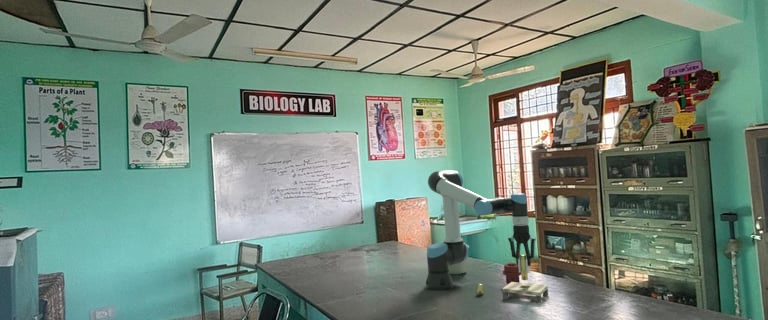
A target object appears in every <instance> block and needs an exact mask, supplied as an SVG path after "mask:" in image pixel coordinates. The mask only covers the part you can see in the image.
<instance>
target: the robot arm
mask: <svg viewBox="0 0 768 320" xmlns="http://www.w3.org/2000/svg"><path fill="white" fill-rule="evenodd" d="M427 185H428V188H429V189H430V190H431V191H433V192H434V193H436V194H438V195H440V196H441V197H442V204H443V218H444V233H445V238H444V239H443V243H442V242H437V243H433V244H430V245H428V247H427V248H426V259H427V277H426V281H425V288H426V289H428V290H432V291H446V290H450V289H452V288H454V281H453V279H452V276H451V274H449V265H453V264H459V263H461V262H463V261H465V260H466V259H467V257H468V258H469V248H468V247H467V246H466V243H465V242H464V239H463V238H462V236H461V226H460V224H461V223H460V214H459V213H460V211H459V203H461V204H463V205H464V206H466V207H469V208H471V209H473V210H474V211H475V213H476V215H479V216H490V215H494V214H501V213H511V215H512V224H513V226H512V231H513V232H512V233H513V234H512V236H510V237H508V238H507V239H508V241H509V245H510V253H511V257H512V258H513V259H515V261H516V262H515V264H517V265H518V266H519V272H520V273H521V264H520V255H521V247H522V246H521V245H522V244H523V246H524V247H523V248H524V251H525V255H526V260H525V261H526V273H530V267H531V266H532V263H531V262H532V260H533V259H534V258H535V244H536V240H537V238H536V237H532V236H531V234H530V225H529V222H530V221H529V213H528V212H529V211H528V200H527V199H528V198H527V194H525V193H511V194H510V197H500V196H499V197H493V198H489V199H488V198H485V197H483V196H482V195H479V194H477V193H474V192H473V191H470V190H469V189H466V188H463V187H462V186H464V179H463V176H462V175H461V173H460V172H458V170H450V169H449V170H437V171H434V172H431V174H430V175H429V176H428V179H427ZM529 241H530V247H529ZM514 242H516V243H514ZM515 246H516V247H515Z"/></svg>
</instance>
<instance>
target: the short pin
mask: <svg viewBox="0 0 768 320" xmlns="http://www.w3.org/2000/svg"><path fill="white" fill-rule="evenodd" d="M476 291H477V295H478V296H483V295H484V284H483V283H477V284H476Z"/></svg>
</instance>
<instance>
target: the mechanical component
mask: <svg viewBox="0 0 768 320" xmlns="http://www.w3.org/2000/svg"><path fill="white" fill-rule="evenodd" d="M502 274H503V276H505V284H507V285H508V284H509V283H511V282H519V283H521V281H520V276H521V273H520V272H519V266H518V265H517V264H516V262H508V263H506V264H503V270H502ZM507 285H506V286H507Z"/></svg>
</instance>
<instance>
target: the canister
mask: <svg viewBox="0 0 768 320" xmlns="http://www.w3.org/2000/svg"><path fill="white" fill-rule="evenodd" d="M465 244H466V243H465ZM466 246H467V247H468V249H470V245H469V244H466ZM468 263H469V256H468V257H467V259H466V260H465V261H463V262H461V263H459V264H453V265H449V273H450V275H462V273H463V274H465V273H466V272H468V271H467V270H468Z"/></svg>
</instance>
